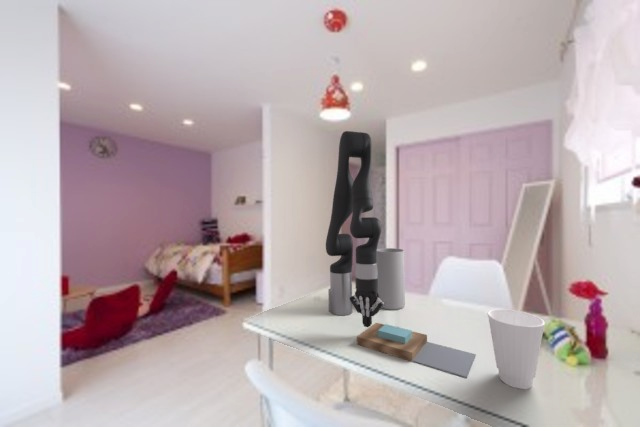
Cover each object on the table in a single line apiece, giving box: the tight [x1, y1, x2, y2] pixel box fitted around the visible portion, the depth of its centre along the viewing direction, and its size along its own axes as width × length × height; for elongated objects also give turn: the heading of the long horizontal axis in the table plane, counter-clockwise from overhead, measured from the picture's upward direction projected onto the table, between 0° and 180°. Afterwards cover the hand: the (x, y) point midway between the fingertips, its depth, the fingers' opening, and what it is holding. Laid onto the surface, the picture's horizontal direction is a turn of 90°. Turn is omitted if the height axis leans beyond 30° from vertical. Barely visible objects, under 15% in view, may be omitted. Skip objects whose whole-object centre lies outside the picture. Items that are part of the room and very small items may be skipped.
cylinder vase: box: [375, 247, 406, 311], centre depth 128 cm, size 12×12×25 cm
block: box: [356, 322, 428, 362], centre depth 92 cm, size 18×14×2 cm
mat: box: [411, 341, 477, 379], centre depth 83 cm, size 14×14×1 cm
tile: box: [378, 323, 413, 344], centre depth 92 cm, size 9×6×2 cm, turn 53°
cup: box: [487, 308, 546, 390], centre depth 72 cm, size 12×12×16 cm
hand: (367, 326), depth 98 cm, fingers closed
